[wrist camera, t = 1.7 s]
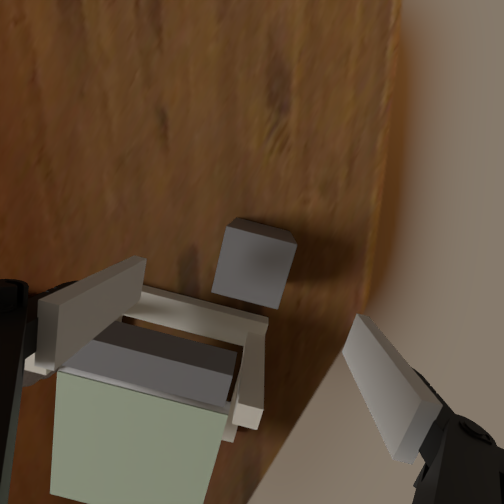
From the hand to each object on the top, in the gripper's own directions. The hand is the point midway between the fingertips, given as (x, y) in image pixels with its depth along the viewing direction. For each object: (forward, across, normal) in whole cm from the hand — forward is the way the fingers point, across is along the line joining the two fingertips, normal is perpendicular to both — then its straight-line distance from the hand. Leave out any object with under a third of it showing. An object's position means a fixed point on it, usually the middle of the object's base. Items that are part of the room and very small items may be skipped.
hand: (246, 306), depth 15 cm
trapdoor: (+5, -6, -16) cm, 17 cm away
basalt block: (+13, 0, 0) cm, 13 cm away
